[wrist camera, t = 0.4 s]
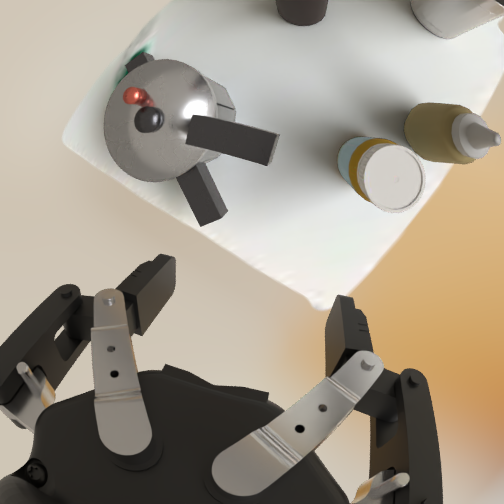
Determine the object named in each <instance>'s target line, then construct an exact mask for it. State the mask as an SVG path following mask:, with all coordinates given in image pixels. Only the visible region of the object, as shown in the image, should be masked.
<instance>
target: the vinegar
mask: <svg viewBox="0 0 504 504" xmlns="http://www.w3.org/2000/svg"><path fill="white" fill-rule="evenodd" d="M276 3H277V7H278V12H279V13H280V15H281V16H282V17H283V18H284V19H285V20H286V21H288V22H290V23H292V24H295V25H300V26H309V25H313V24H316V23H318V22H319V21H321V20H322V19H323V17H324V16H325V14H326V9H327V4H328V0H276Z"/></svg>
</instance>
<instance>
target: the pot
mask: <svg viewBox="0 0 504 504" xmlns="http://www.w3.org/2000/svg"><path fill="white" fill-rule="evenodd" d="M151 61H155V60H154V58H153V56H152V55H150V54H147V53H145V52H142V53H141V54H140V55H138V56H137V57H135V58H134V59H133V60H131V61H130V62H129V63H127V64H126V65H125V66H126V68H127V71H128V73H130V72H131V71H132V70H134V69H135V68H137V67H139V66H140V65H143V64H145V63H147V62H151ZM203 76H204V75H203ZM204 77H205V76H204ZM205 78H206V79H207V81H208V82H209V83H210V85H211V87H212V89H213V91H214V94H215V97H216V100H217V105H218V118H219V119H224V120H228V121H232V122H235V116H236V111H235V107H234V105H233V103H232V101H231V99H230V97H229V95H228V93H227V91H226V89H225V88H224V87H223V86H221V85H219V84H218V83H216V82H214V81H213V80H211V79H209V78H207V77H205ZM220 155H221V153H219V152H216V151H212V150H208V151H207V152H206V154H205V155H204V156H203V158H202V159H201V160H200V161H199V162H198V163H197V164H196V165H195V166H194V167H193V168H191V169H190V170H189V171H187V172H185V173H184V174H182V175H180V176H177V177H176V178H177V180H178V183H179V185H180V187H181V189H182V191H183V193H184V195H185V197H186V199H187V201H188V203H189V205H190V207H191V209H192V211H193V213H194V215H195V217H196V219H197V221H198V223H199V225H200V227H202V226H204V225H206V224H209V223H211V222H214V221H216V220H218V219H221V218H222V217H223V216H224V215H225V214H226V213H227V212H228V210H227V208H226V206H225V204H224V202H223V200H222V198H221V196H220V193H219V191H218V189H217V187H216V185H215V183H214V181H213V179H212V177H211V175H210V172H209V170H208V168H207V166H206V164H205V163H207V162H209V161H212V160H214V159H216V158H218V156H220Z"/></svg>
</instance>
